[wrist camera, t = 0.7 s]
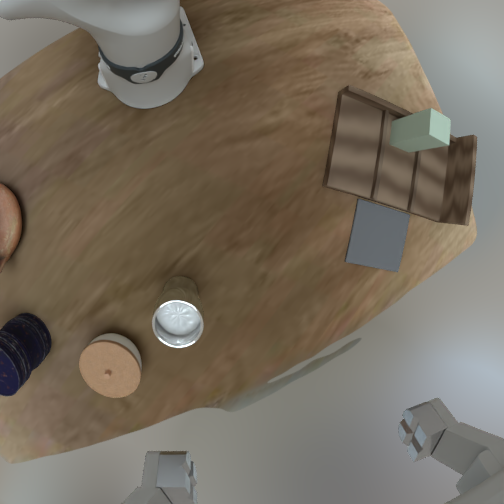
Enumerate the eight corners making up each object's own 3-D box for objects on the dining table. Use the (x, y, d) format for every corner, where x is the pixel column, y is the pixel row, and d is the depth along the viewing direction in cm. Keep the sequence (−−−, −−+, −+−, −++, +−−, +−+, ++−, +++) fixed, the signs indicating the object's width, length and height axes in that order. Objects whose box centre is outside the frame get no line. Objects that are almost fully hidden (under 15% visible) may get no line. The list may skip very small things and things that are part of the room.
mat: (396, 271, 61) (398, 272, 60) (344, 261, 58) (345, 261, 58) (408, 214, 59) (409, 214, 59) (357, 198, 57) (358, 198, 56)
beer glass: (190, 266, 53) (190, 289, 38) (207, 302, 54) (214, 337, 40) (153, 282, 52) (140, 311, 37) (171, 318, 53) (165, 357, 39)
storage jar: (54, 362, 50) (25, 402, 36) (15, 354, 48) (-19, 389, 34) (49, 315, 49) (13, 347, 34) (8, 308, 47) (-32, 336, 32)
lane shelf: (436, 222, 61) (468, 225, 51) (322, 186, 55) (348, 183, 45) (446, 142, 59) (477, 136, 50) (338, 92, 53) (364, 74, 43)
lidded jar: (108, 382, 53) (97, 409, 44) (81, 334, 51) (64, 356, 41) (155, 366, 54) (151, 393, 45) (129, 316, 52) (119, 337, 43)
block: (408, 152, 55) (449, 145, 44) (389, 144, 54) (429, 134, 43) (410, 130, 55) (450, 119, 43) (391, 121, 54) (431, 107, 42)
